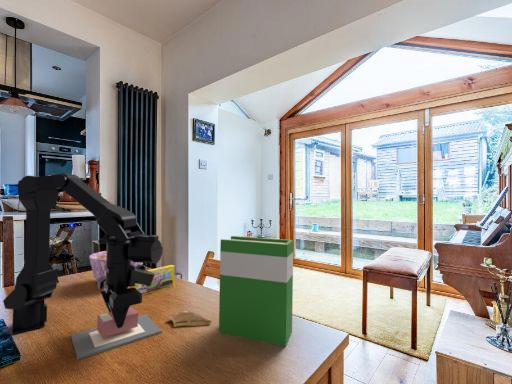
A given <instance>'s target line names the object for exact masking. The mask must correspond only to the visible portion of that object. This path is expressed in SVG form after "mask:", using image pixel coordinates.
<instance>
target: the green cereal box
mask: <svg viewBox="0 0 512 384" xmlns="http://www.w3.org/2000/svg"><path fill="white" fill-rule="evenodd" d="M219 247H220V249H219V251H220V254H219V255H220V256H219V260H220V261H219V297H218V298H219V304H218V305H219V307H218V310H219V311H218V333H219V334H222V335H227V336H232V337H236V338H241V339H246V340H250V341H251V340H252V341H256V342H261V343H267V344H272V345H274V346H275V345H276V346H280V345H281V347H286V348H287V345H288V342H289V340H290V338H291V335H292V333H293V300H294V299H293V298H294V297H293V295H294V293H293V292H294V291H293V287H294V286H293V285H294V282H293V281H294V240H293V239H279V238H267V237H266V238H265V237H254V236H253V237H252V236H240V235H239V236H238V235H237V236H236V235H231V236H230V239H223V238H222V239H220V243H219Z"/></svg>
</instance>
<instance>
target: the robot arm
mask: <svg viewBox="0 0 512 384" xmlns="http://www.w3.org/2000/svg"><path fill="white" fill-rule="evenodd" d="M16 187H17V195H18V200H19V202H20V203H21V205H22V206H23V207H24V209H25V212H26V213H25V244H24V246H25V247H24V249H25V250H24V266H23V267H22V269H21V270H20V272H19V273H18V275H17V276H16V279H15V284H14V288H13V290H12V291H11V292H10V293H9V294H8V295H7V296H6V297H5V298H4V299H3V300H2V302H3V306H4V309H6V310H12V324H11V332H10V333H11V335H15V334H16V335H17V334H20V333H24V332H28V331H33V330H37V329H41V328H44V327H45V324H46V322H47V319H48V303H46V302H45V300H47V299H51V298H52V296H53V292H54V290H56V288H57V285H58V284H59V282H60V281H59V272H60V271H59V268H58V267H56V268H54V267H53V266H52V264H51V263H50V242H51V241H50V238H51V237H50V235H51V234H50V233H51V210H52V208H53V206H54V205H55V203H56V202H57V201H58V198H59V194H60V193H65V194H67V195H68V196H69V197H70V198H72V199H74V200H75V202H76V203H78V204H79V205H81V206H82V207H83V208H84V209H85V210H87V211H88V212H89V213H90V214H92V215H93V216H94V217H95V221H96V223H97V225H98V226H99V227H100V229H101V230H102V231H103V232H104V236H103V237H102V238H100V239H99V240H98V243H99V244H104V245H105V244H106V251H107V252H106V265H104V269H105V270H106V276H102V277H101V278H100V279H99V280H98V281H97V289H98V290H99V291H100V290H101V291H100V292H99V293H100V295H101V297H102V300H103V302H104V304H105V306H106V308H107V311H108V313H109V312H111V313H112V315H113V318H114V320H115V323H116V325H117V327H118V328H121V327H123V324H124V321H125V318H126V315H127V312H128V309H129V307H132V306H135V305H139V304H142V302H143V295H142V293H140V292H139V291H138V290H137V289H136V288H134V287H133V288H132V286H135V283H136V284H142V285H146V286H151V284H152V281H153V278H154V276H155V274H154V273H152V272H150V271H148V270H149V269H146V266H145V265H144V264H157V263H159V262H160V260H161V259H162V255H163V249H164V248H163V245H162V243H161V240H160V238H159V237H160V236H159V235H158V234H153V235H146V234H145V232H144V231H143V229H142V228H141V226H140V224H139V223H138V222H137V216H136V215H135V214H134V213H133V212H132V211H129V210H128V209H126V208H124V207H123V206H119V205H117V204H113V203H111V202H110V201H108V200H107V199H106V198H104V196H102V195H101V194H99V193H98V192H97V191H96V190H94V189H93V188H92V187H90V186H89V185H88V184H86V183H85V182H84V181H83V180H81V178H80V177H79V176H78V175H76V174H71V173H62V172H60V173H59V174H53V175H43V176H41V175H39V176H38V175H25V176H23V177H22V178H21V179H20V180H18V182H17V186H16ZM131 262H138V263H143V264H142V265H140V264H138V265H137V266H136V267H135V266H134V265H132V264H131ZM102 289H103V290H102Z"/></svg>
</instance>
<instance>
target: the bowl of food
mask: <svg viewBox="0 0 512 384" xmlns="http://www.w3.org/2000/svg"><path fill="white" fill-rule="evenodd" d="M106 252H107V250H104V251H98V252H94V253H92V254H90V255H89V257H88V258H89V261H90V266H91V270H92V274H93V277H94V279H95V280H96V282H98V280H99V279H100V278H101V277H102V276H106V270H105V269H104V265H106ZM131 264H132V265H134V266H135V267H136V266H137V265H138V264H140V265H144V263H138V262H131Z"/></svg>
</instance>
